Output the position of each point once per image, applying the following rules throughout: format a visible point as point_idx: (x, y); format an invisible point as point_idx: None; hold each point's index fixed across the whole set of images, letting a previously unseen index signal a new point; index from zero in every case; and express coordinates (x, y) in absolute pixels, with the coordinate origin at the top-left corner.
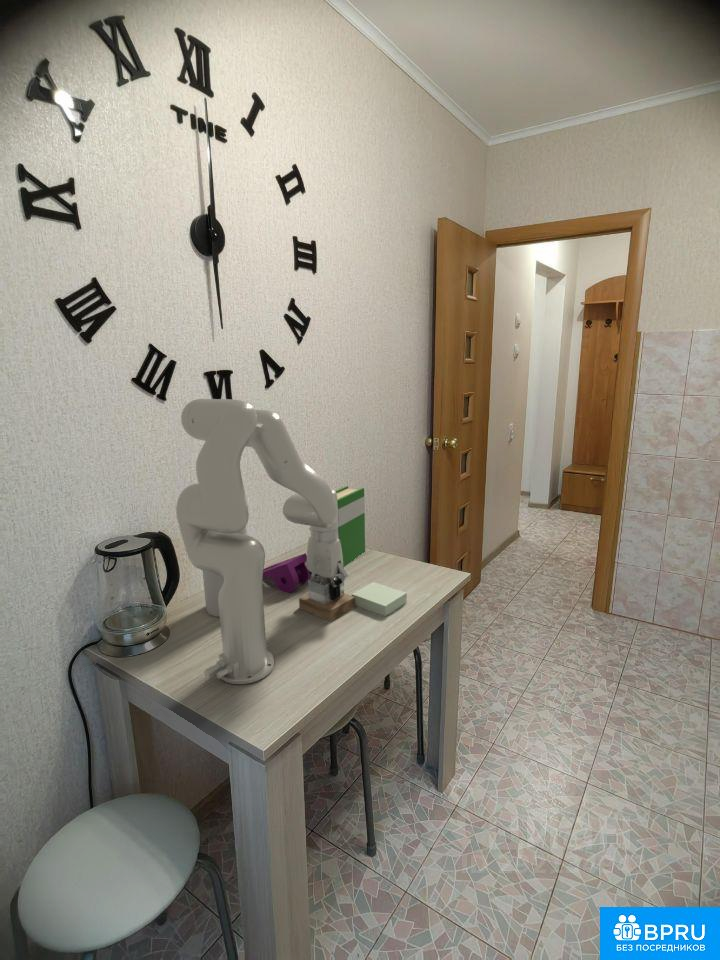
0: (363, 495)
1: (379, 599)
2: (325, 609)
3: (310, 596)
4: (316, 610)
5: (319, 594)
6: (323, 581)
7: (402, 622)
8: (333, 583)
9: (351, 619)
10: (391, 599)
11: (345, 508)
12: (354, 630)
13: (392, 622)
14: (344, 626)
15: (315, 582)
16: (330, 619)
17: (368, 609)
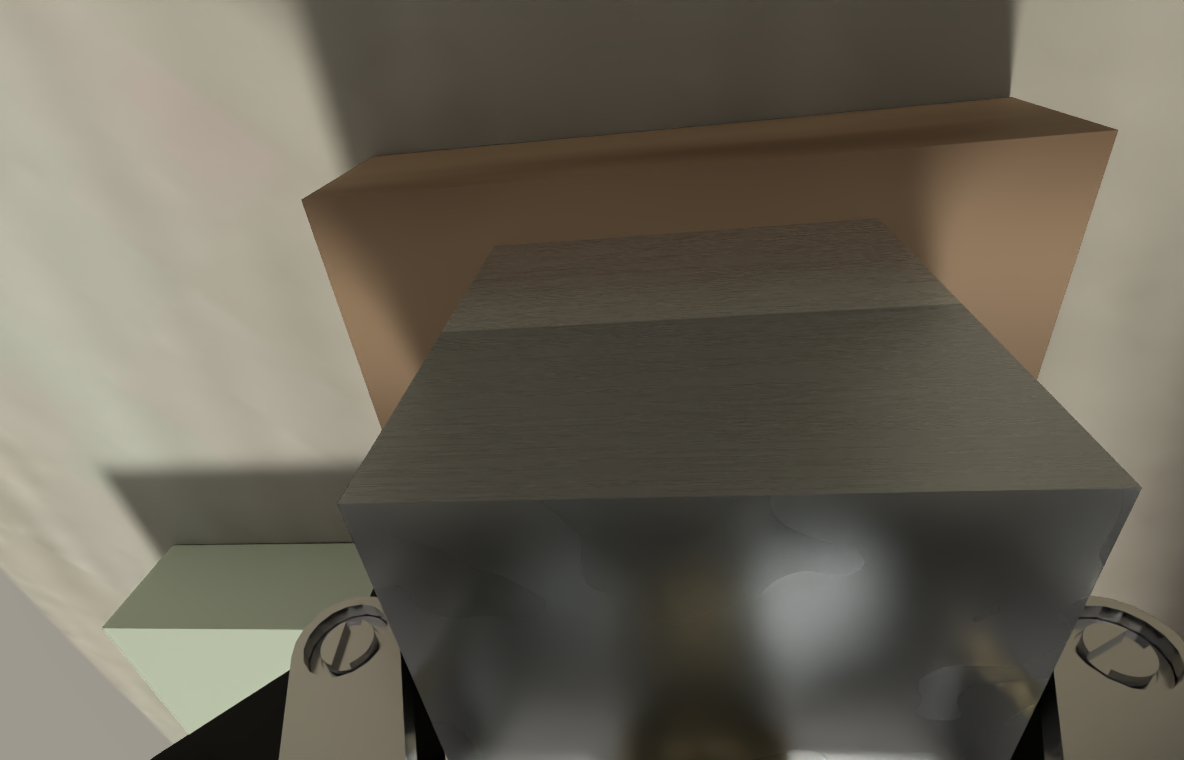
0: None
1: (253, 675)
2: (410, 187)
3: (860, 250)
4: (629, 149)
5: (592, 320)
6: (594, 643)
7: (26, 549)
8: (331, 683)
9: (277, 344)
10: (201, 713)
11: None
12: (36, 204)
13: (55, 512)
14: (171, 188)
15: (741, 499)
16: (367, 162)
17: (347, 546)
